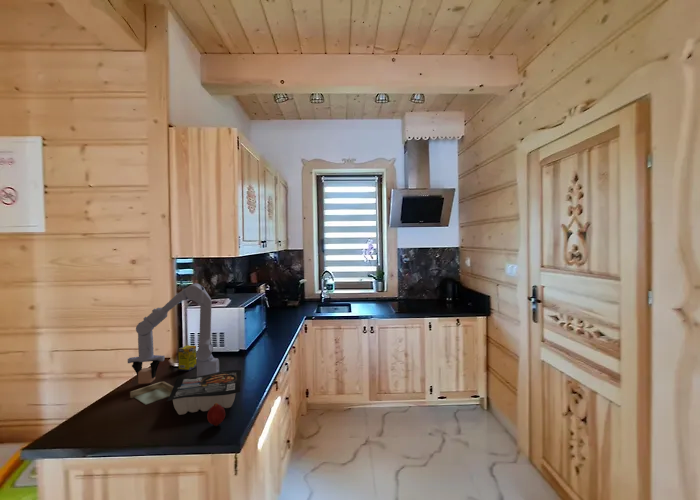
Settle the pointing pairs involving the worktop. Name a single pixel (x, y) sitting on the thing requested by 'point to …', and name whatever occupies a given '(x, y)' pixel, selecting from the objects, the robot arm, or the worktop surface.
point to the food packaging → (205, 391)
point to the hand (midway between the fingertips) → (146, 377)
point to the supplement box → (187, 358)
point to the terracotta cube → (145, 376)
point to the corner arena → (152, 392)
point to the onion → (216, 414)
